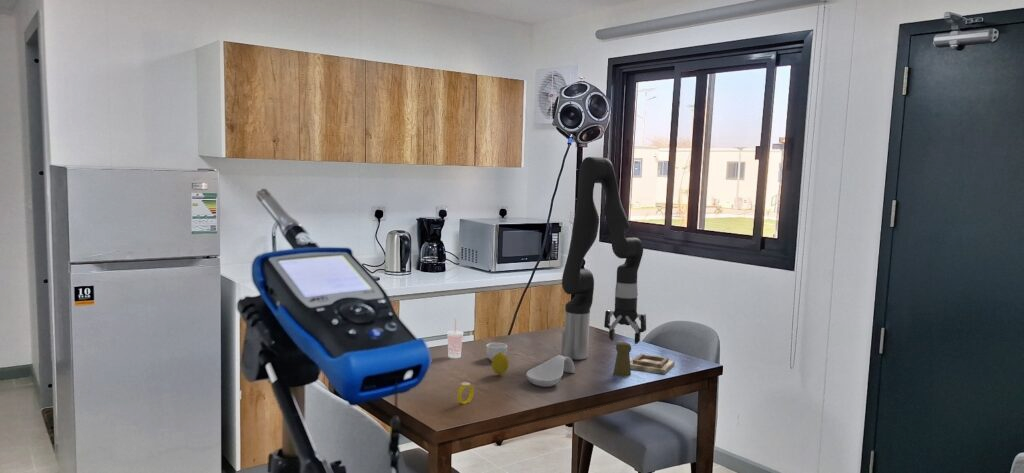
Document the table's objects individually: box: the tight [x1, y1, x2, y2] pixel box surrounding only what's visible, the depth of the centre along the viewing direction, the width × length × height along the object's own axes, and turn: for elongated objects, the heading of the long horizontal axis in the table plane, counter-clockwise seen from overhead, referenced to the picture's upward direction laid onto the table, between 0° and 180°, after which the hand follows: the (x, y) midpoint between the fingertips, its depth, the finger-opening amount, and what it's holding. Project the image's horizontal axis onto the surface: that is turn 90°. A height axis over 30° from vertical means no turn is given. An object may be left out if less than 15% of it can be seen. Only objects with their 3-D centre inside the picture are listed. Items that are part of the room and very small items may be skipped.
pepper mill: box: [613, 341, 632, 377], centre depth 242 cm, size 6×6×11 cm
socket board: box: [630, 353, 675, 375], centre depth 254 cm, size 14×14×3 cm
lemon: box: [491, 352, 509, 376], centre depth 236 cm, size 6×6×8 cm
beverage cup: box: [446, 318, 464, 359], centre depth 257 cm, size 6×6×14 cm
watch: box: [456, 381, 475, 405], centre depth 207 cm, size 6×3×6 cm, turn 143°
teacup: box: [485, 342, 508, 361], centre depth 256 cm, size 10×8×5 cm
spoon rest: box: [525, 354, 576, 388], centre depth 233 cm, size 24×12×7 cm, turn 148°
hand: (624, 341), depth 242 cm, fingers open, 8 cm apart
